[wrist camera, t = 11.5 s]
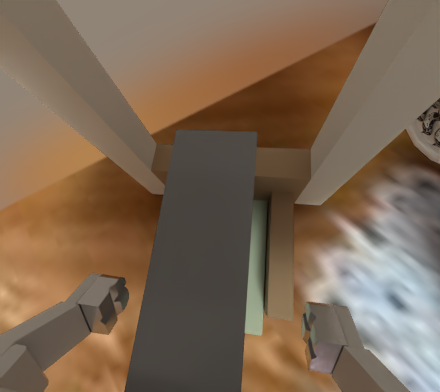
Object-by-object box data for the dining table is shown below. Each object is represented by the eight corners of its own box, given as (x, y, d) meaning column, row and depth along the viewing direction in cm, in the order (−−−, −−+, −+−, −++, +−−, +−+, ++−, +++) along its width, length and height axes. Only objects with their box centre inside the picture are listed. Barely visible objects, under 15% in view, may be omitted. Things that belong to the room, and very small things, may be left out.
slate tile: (243, 333, 15) (237, 437, 6) (197, 326, 15) (120, 410, 6) (251, 205, 18) (257, 131, 8) (212, 202, 18) (176, 129, 9)
